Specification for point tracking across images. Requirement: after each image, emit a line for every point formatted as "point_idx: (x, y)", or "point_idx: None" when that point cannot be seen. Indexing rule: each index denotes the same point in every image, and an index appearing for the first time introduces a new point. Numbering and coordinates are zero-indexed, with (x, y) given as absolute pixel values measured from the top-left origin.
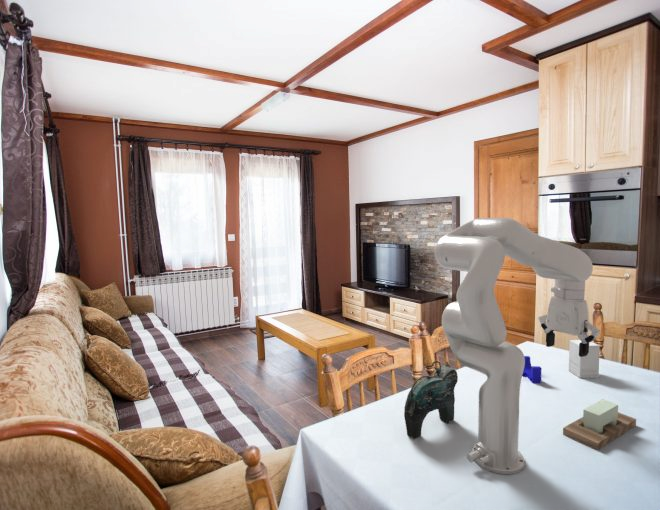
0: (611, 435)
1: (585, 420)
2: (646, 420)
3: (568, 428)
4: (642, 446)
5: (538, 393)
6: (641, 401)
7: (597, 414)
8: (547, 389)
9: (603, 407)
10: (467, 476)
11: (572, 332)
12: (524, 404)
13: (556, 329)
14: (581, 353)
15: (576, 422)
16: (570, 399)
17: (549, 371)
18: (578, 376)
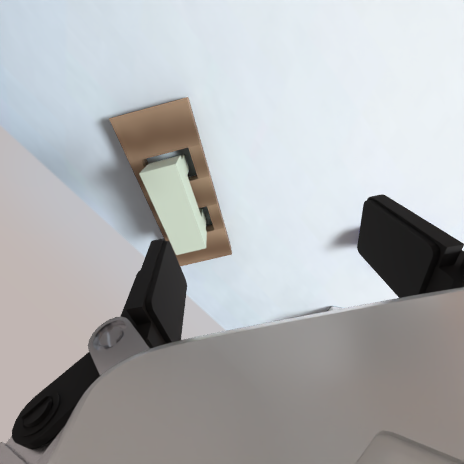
0: (137, 179)
1: (174, 158)
2: (187, 284)
3: (180, 108)
4: (119, 213)
5: (340, 199)
6: (234, 319)
7: (144, 174)
8: (339, 229)
9: (173, 217)
10: None
11: (159, 377)
12: (326, 125)
13: (415, 313)
14: (149, 254)
15: (197, 153)
16: (289, 236)
17: (380, 285)
18: (335, 307)
